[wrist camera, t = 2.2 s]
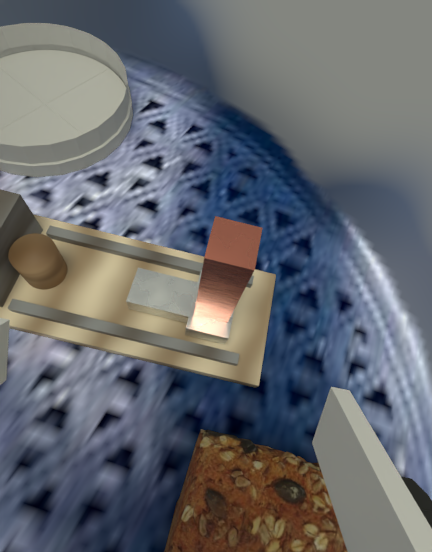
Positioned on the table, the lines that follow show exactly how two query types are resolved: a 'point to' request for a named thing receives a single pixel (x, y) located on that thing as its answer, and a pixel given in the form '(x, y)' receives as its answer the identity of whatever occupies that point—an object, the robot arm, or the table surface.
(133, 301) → the carriage
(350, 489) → the robot arm
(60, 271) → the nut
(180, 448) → the table surface
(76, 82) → the dish
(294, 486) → the bread
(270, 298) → the board
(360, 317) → the table surface
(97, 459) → the table surface
